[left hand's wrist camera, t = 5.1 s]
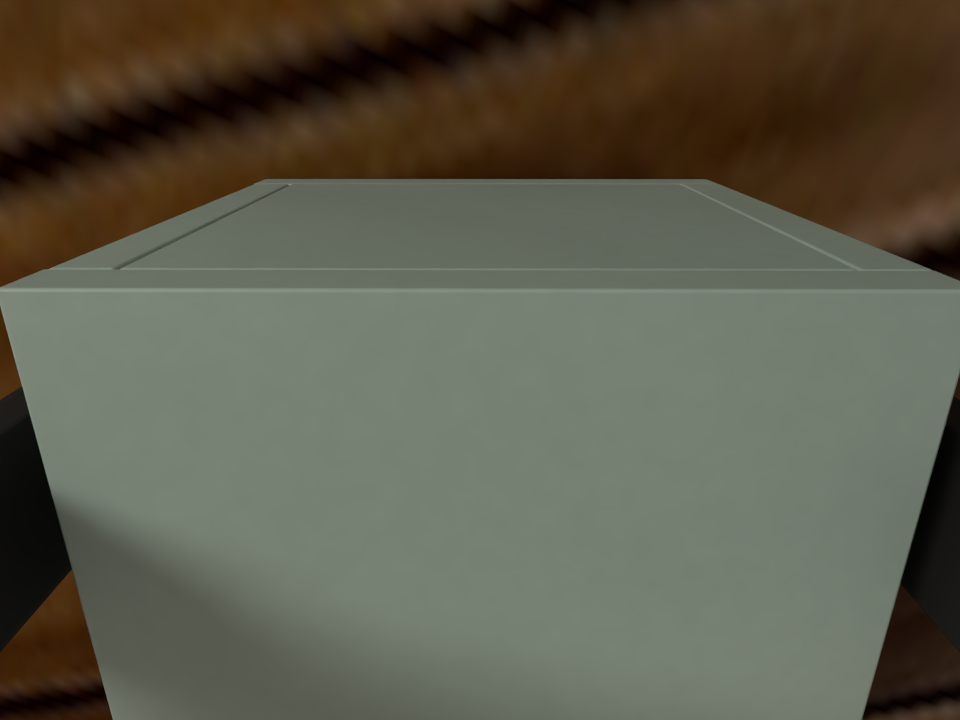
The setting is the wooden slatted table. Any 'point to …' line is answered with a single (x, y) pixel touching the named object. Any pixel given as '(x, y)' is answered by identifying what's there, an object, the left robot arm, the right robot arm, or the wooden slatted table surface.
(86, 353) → the cabinet
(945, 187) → the wooden slatted table surface
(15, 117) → the wooden slatted table surface
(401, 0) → the wooden slatted table surface
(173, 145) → the wooden slatted table surface
